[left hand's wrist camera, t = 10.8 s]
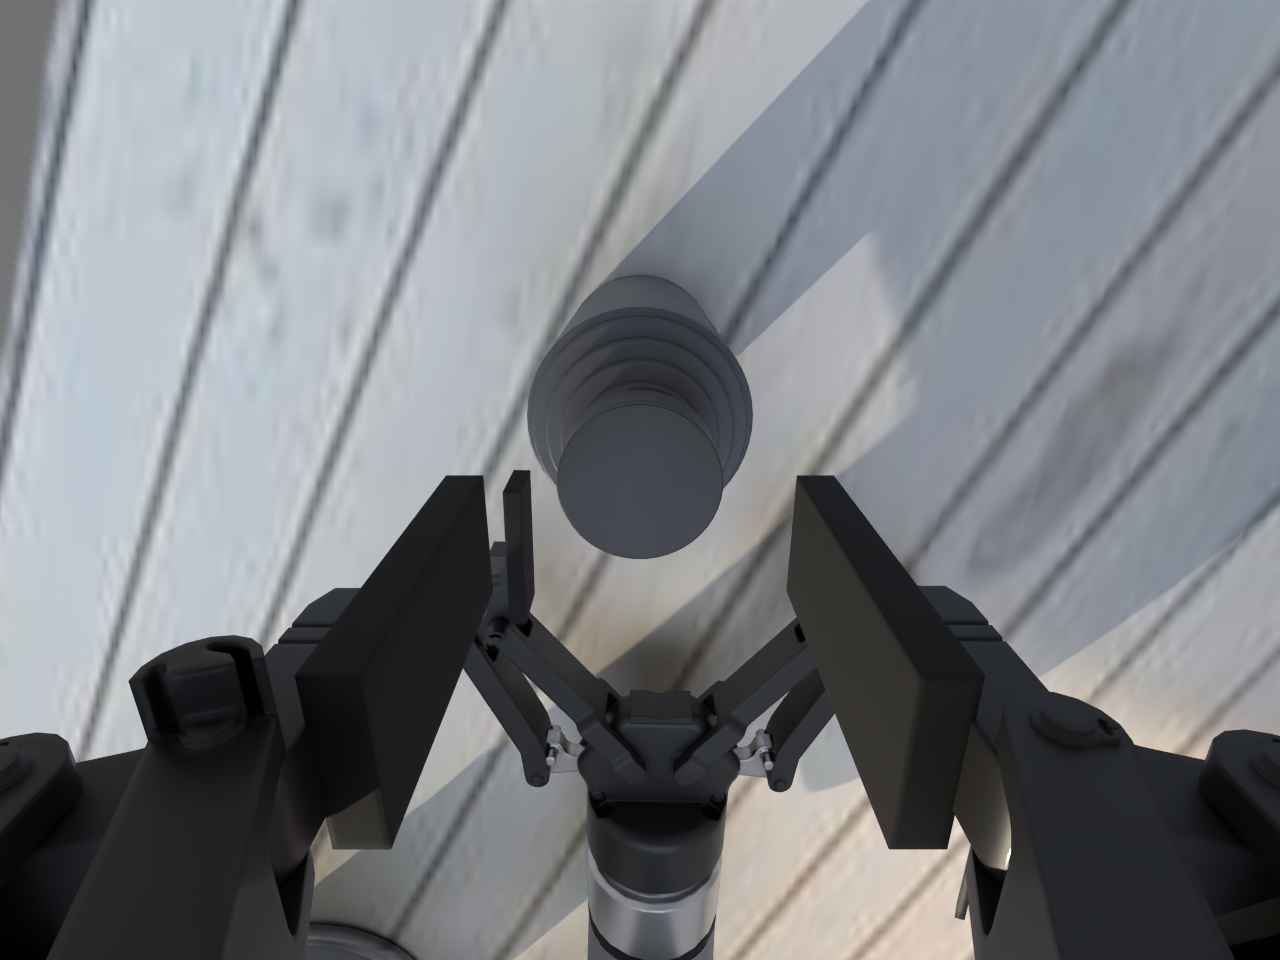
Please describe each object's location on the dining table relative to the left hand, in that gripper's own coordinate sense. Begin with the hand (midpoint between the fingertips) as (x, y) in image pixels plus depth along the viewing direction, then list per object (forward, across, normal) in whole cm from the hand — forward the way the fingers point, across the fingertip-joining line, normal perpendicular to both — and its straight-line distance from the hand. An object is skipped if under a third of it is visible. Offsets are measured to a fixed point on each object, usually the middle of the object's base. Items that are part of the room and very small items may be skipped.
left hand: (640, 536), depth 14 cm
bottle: (+22, 0, 0) cm, 22 cm away
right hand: (+15, -1, +5) cm, 16 cm away
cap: (+3, 0, 0) cm, 3 cm away
